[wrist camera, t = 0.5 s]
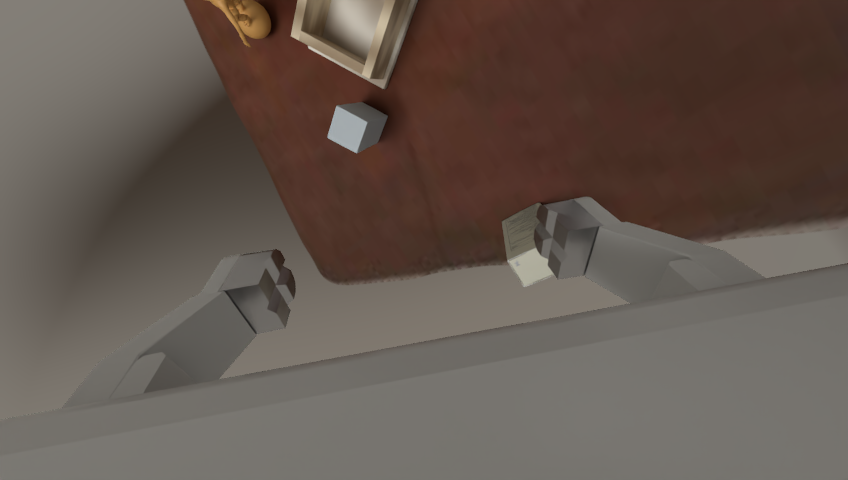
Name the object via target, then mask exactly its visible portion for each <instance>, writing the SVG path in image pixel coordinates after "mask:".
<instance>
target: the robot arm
mask: <svg viewBox="0 0 848 480" xmlns="http://www.w3.org/2000/svg"><path fill="white" fill-rule="evenodd" d="M536 217H537V219H538V220H539V221H540V223H539V224H538V225H537V226H536V228H535V230H534V241H535V246H536V249H537V251H538V252H539V254H540V255H541V256H542V257H544V258H546V259H548V267H549V268H550V269H551V271H552V272H553V274H554V275H555V276H556V278H557V279H564V278H570V277H577V276H584V275H585V277H586V278H588V279H590V280H591V281H593V282H595V283H597V284H598V285H600V286H602V287H603V288H605V289H607V290H609V291H610V292H612V293H614V294H615V295H617V296H619V297H621V298H622V299H624V300H626V301H627V302H629V303H630V304H625V305H620V306H614V307H609V308H603V309H598V310H593V311H587V312H582V313H577V314H572V315H566V316H560V317H555V318H549V319H544V320H539V321H533V322H527V323H522V324H516V325H511V326H506V327H500V328H495V329H489V330H483V331H479V332H473V333H467V334H462V335H457V336H451V337H446V338H440V339H435V340H430V341H424V342H419V343H413V344H408V345H402V346H397V347H392V348H386V349H381V350H376V351H370V352H365V353H359V354H354V355H349V356H344V357H338V358H332V359H327V360H321V361H316V362H311V363H305V364H300V365H295V366H289V367H283V368H278V369H273V370H267V371H262V372H256V373H251V374H245V375H240V376H235V377H229V378H224V379H219V378H220V377H221V376H222V375H223V374H224V372H225V371H226V370H227V369H228V368H229V367H230V365H231V364H232V363H233V362H234V361H235V359H236V358H237V357H238V356H239V355H240V354H241V353H242V352H243V350H244V349H245V348H246V347H247V346H248V345H249V344H250V342H251V341H252V340H253V339H254V338H255V337H256V334H259V333H264V332H269V331H273V330H278V329H283V328H285V327H286V324H287V320H288V317H289V313H290V309H289V307H288V304H289V303H290V302H291V301H292V300H293V299H294V296H295V280H294V277H293V275H292V272H291V270H289V269H287V268H286V267H284V266H283V263H284V261H285V259H284V257H283V255H282V253H281V252H280V251H279V250H277V249H273V250H267V251H260V252H253V253H246V254H239V255H233V256H228V257H225V258H223V259H222V260H221V262H220V263H219V265H218V266H217V268H216V269H215V271H214V273H213V275H212V276H211V277H210V279H209V280H208V282H207V284H206V285H205V287H204V288H203V290H202V291H201V293H200V294H199V295H197V296H193V297H191V298H190V299H189V300H187V301H186V302H184V303H183V304H181V305H180V306H178V307H177V308H176V309H174V310H173V311H171V312H170V313H168V314H167V315H166V316H165V317H163V318H161V319H160V320H158V321H157V322H156V323H154V324H153V325H151V326H150V327H148V328H147V329H146V330H144V331H143V332H141V333H140V334H138V335H137V336H135V337H134V338H133V339H131V340H130V341H128V342H127V343H125V344H124V345H122V346H121V347H120V348H118V349H117V350H115V351H114V352H113V353H111V354H110V355H108V356H107V357H105V358H104V359H102V360H101V361H99V362H98V364H97V365H96V366H95V367H94V368H93V370H92V371H91V372H90V373H89V375H88V376H87V377H86V378H85V380H84V381H83V382H82V383H81V385H80V386H79V387H78V388H77V390H76V391H75V392H74V393H73V395H72V396H71V397H70V398H69V400H68V401H67V402H66V403H65V405H64V406H63V407H62V408H61V409H56V410H50V411H45V412H39V413H34V414H28V415H23V416H18V417H12V418H8V419H1V420H0V480H848V263H847V264H841V265H836V266H831V267H825V268H820V269H815V270H809V271H803V272H798V273H793V274H787V275H782V276H776V277H771V278H765V277H763V276H762V275H760V274H758V273H757V272H756V271H754V270H753V269H751V268H750V267H748V266H747V265H745V264H744V263H742V262H740V261H739V260H737V259H736V258H734V257H733V256H731V255H730V254H728V253H727V252H725V251H723V250H720V249H717V248H713V247H710V246H706V245H703V244H700V243H697V242H693V241H690V240H686V239H683V238H680V237H676V236H673V235H670V234H666V233H663V232H660V231H656V230H653V229H649V228H646V227H643V226H639V225H636V224H633V223H629V222H620V221H619V220H618V219H617V218H615V217H614V216H613V215H612V214H611V213H609V212H608V211H607V210H606V209H604V208H603V207H602V206H601V205H599V204H598V203H597V202H596V201H594V200H593V199H592V198H591V197H581V198H576V199H571V200H567V201H562V202H556V203H551V204H545V205H540V206H539V208H538V210H537V215H536Z"/></svg>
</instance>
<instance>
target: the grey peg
mask: <svg viewBox="0 0 848 480" xmlns="http://www.w3.org/2000/svg"><path fill="white" fill-rule="evenodd" d="M387 117H388V116H387V115H385V114H383V113H381V112H380V111H378V110H376V109H374V108H372V107H370V106H368V105H367V104H365V103H363V102H360V103H352V104H345V105H337V106H336V109H335V113H334V116H333V120H332V123H331V127H330V130H329V134H328V137H327V138H329V139H331V140H332V141H334V142H336V143H338V144H340V145H342V146H344V147H346V148H347V149H349V150H351V151H353V152H355V153H358V152H360V151H362V150H364V149H366V148H368V147H370V146H372V145H374V144H376V143H378V141H379V138H380V136H381V133H382V130H383V128H384V125H385V123H386V120H387Z"/></svg>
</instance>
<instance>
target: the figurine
mask: <svg viewBox="0 0 848 480" xmlns="http://www.w3.org/2000/svg"><path fill="white" fill-rule="evenodd" d="M207 1H211V2H212V3H213V4H214V5H215V6H216V7H218V8H221V10H222V11H223V12H224V13H225V14H226V16H227V17H228V19H229V20H230V21H231V23H232V24H233V25H234V26H235V28H236V30H237V31H238V32H239V35H240V37H241V39H242V40H243V41H244V42H243V43H244V44H245V45H246V46H248V47H251V46H250V44H249V43H248V42H247V40H246V37H245V35H244V33H245V34H246V35H248V36H249V37H251V38H255V39H262V38H264V37H266V36H267V35H268V34H269V32H270V30H271V20H270V17H269V14H268V13H267V11H266V10H265V8H264V7H263V6H262V5H260V4H259V3H258V2H256V1H253V0H243V1H240V0H207ZM235 5H237V6H235ZM243 32H244V33H243Z"/></svg>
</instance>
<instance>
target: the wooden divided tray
mask: <svg viewBox="0 0 848 480" xmlns="http://www.w3.org/2000/svg"><path fill="white" fill-rule="evenodd" d="M417 2H418V0H298V1H297V6H296V11H295V17H294V22H293V27H292V33H291V36H292V37H294V38H296V39H297V40H299V41H301V42H303V43H305V44H307V45H308V48H309V49H311V50H313V51H314V52H316V53H318V54H320V55H322V56H324V57H325V58H327V59H329V60H331V61H333V62H335V63H337V64H338V65H340V66H342V67H344V68H346V69H348V70H349V71H351V72H353V73H355V74H357V75H359V76H360V77H362V78H364V79H366V80H368V81H370V82H372V83H373V84H375V85H377V86H379V87H381V88H383V89H386V88H387V85H388V82H389V80H390V77H391V74H392V71H393V68H394V66H395V63H396V60H397V57H398V54H399V52H400V49H401V46H402V43H403V41H404V38H405V35H406V32H407V29H408V27H409V24H410V21H411V18H412V15H413V13H414V10H415V7H416V4H417Z"/></svg>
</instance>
